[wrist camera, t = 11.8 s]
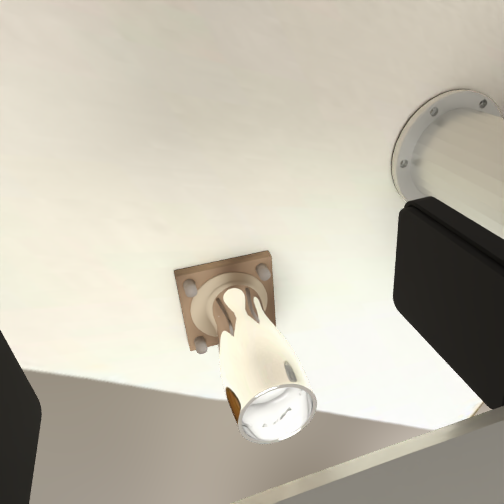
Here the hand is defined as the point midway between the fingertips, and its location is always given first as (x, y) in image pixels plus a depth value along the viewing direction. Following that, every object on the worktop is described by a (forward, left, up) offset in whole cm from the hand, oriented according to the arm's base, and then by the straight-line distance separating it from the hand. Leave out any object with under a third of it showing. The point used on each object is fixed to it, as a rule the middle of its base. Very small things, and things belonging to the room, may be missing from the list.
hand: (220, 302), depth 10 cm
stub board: (-5, +23, -30) cm, 38 cm away
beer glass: (-5, +23, -29) cm, 37 cm away
